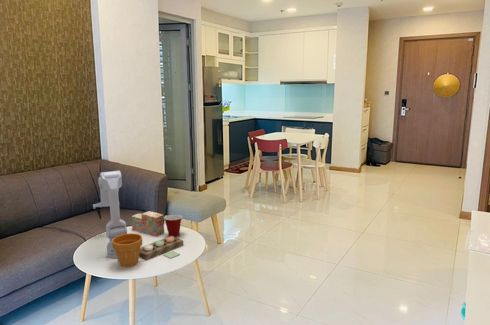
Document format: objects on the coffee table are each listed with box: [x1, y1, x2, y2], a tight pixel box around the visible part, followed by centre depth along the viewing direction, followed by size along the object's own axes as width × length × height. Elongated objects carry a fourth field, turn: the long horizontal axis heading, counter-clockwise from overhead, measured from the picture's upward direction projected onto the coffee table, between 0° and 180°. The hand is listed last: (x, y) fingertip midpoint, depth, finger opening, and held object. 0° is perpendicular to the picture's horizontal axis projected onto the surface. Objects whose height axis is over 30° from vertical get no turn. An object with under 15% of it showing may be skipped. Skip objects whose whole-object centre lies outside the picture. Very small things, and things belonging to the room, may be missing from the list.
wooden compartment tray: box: [139, 236, 184, 261], centre depth 200 cm, size 24×10×3 cm, turn 139°
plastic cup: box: [164, 214, 183, 238], centre depth 218 cm, size 11×11×12 cm
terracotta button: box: [165, 236, 174, 243], centre depth 205 cm, size 4×4×3 cm
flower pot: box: [112, 232, 143, 268], centre depth 184 cm, size 14×14×13 cm
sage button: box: [154, 239, 164, 248], centre depth 200 cm, size 4×4×3 cm
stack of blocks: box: [130, 210, 165, 238], centre depth 225 cm, size 21×6×12 cm, turn 58°
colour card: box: [162, 250, 181, 259], centre depth 194 cm, size 6×6×1 cm
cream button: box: [143, 244, 153, 252], centre depth 194 cm, size 4×4×3 cm
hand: (107, 217), depth 221 cm, fingers open, 7 cm apart
